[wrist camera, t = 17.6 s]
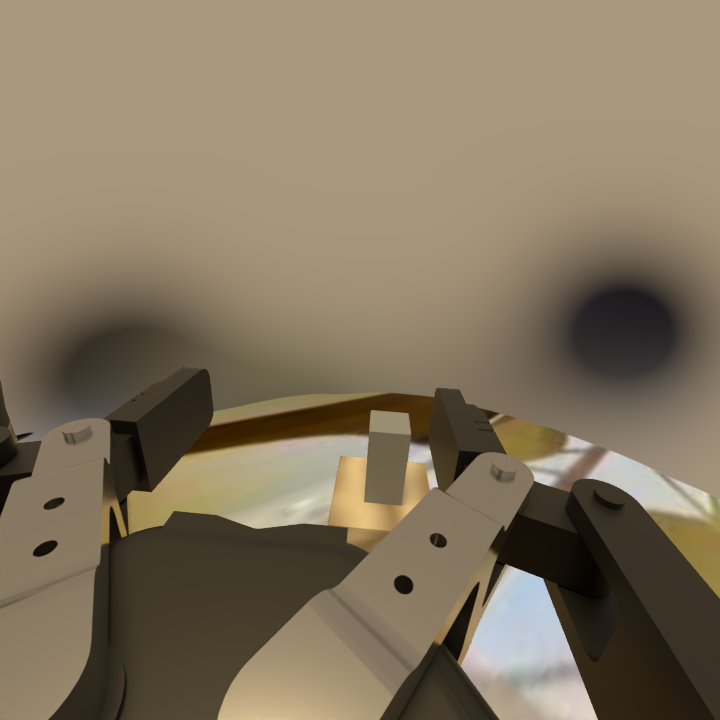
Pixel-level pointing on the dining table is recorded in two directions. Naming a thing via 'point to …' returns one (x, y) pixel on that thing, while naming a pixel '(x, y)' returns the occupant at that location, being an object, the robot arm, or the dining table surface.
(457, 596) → the robot arm
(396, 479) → the grey block
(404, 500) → the birch plinth
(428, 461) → the dining table surface
